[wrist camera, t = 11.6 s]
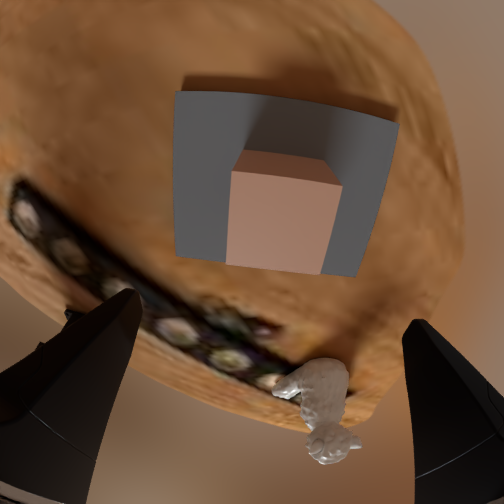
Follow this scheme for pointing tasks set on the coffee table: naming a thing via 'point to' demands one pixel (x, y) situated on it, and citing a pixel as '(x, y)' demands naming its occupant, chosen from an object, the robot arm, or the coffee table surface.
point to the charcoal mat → (283, 142)
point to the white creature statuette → (321, 407)
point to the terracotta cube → (281, 212)
